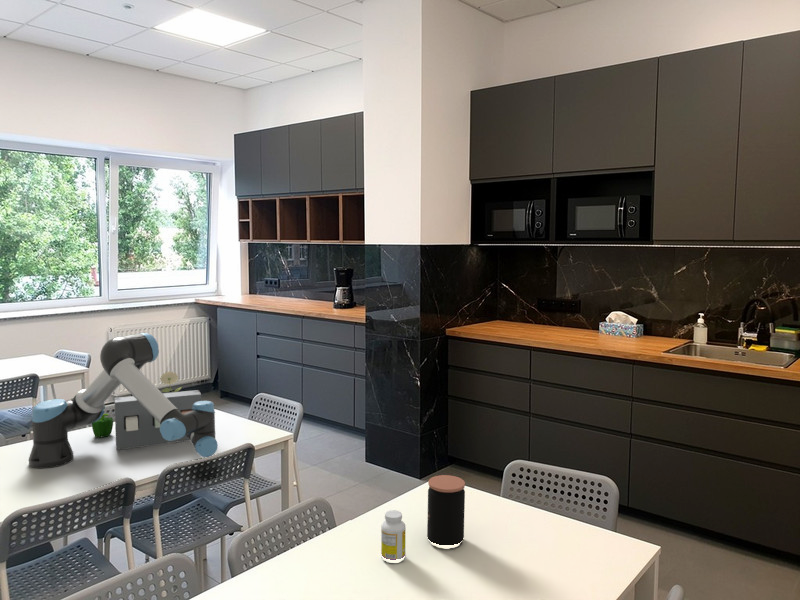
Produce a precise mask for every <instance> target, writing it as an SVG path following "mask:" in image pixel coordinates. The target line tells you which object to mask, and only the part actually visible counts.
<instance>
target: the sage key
mask: <svg viewBox="0 0 800 600" xmlns="http://www.w3.org/2000/svg"><path fill="white" fill-rule="evenodd" d="M154 425H155V428H159V427H160V425H161V424H160V423H159V422H158V421H157V420H156V419H155V418H154Z"/></svg>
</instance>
